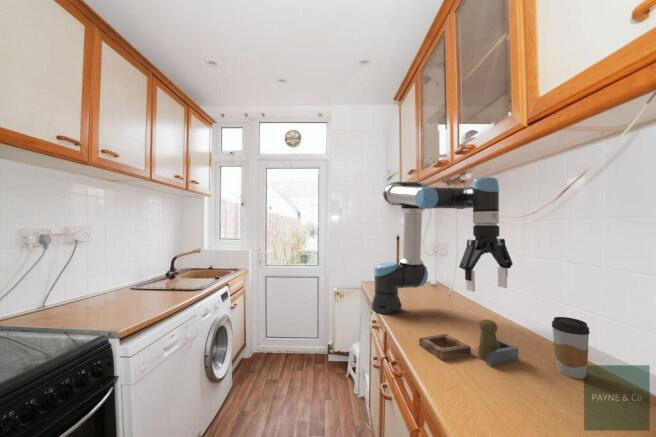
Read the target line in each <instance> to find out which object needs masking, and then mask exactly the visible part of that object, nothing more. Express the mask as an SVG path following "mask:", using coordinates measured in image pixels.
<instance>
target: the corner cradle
mask: <svg viewBox="0 0 656 437" xmlns="http://www.w3.org/2000/svg"><path fill="white" fill-rule="evenodd" d="M496 339H497V345H498V349H496V350H491V351H486V357H483V356H481V355H480V354H479V353H478V350H479V347H477V348H473V349H471V356H474V357H476V358H477V359H479V360H481V361H482V362H485V364H486V365H487V366H488V367H490V368H492V367H496V366H501V365H505V364H510V363H514V362H515V363H516V362H519V361H520V358H519V347H516V346H515V345H512V344H510V343H508V342H506V341H503V340H501V339H499V338H497V337H496Z"/></svg>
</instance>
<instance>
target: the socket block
mask: <svg viewBox="0 0 656 437" xmlns="http://www.w3.org/2000/svg"><path fill="white" fill-rule="evenodd" d="M418 342H419V347H422V349H424V350H426V352H429V353H430V354H431V355H433V356H435V357H436V358H437V359H439V360H441V361H446V360H452V359H456V358H457V359H458V358H461V357H466V356H472V354H471V348H472V347H471V346H470V345H468V344H466V343H464V342H462V341H460V340H458V339H457V338H454V337H453V336H451V335H449V334H447V333H442V334H436V335H430V336H423V337H419V339H418ZM441 345H447V346H448V347H444V348H442V347H440V346H441Z"/></svg>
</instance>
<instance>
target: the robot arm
mask: <svg viewBox="0 0 656 437" xmlns="http://www.w3.org/2000/svg"><path fill="white" fill-rule="evenodd" d="M499 192H500V189H499V180H498V179H497V178H495V177H479V178H475V179H473V180H472V185H471V186H469V187H438V186H437V187H435V186H434V187H433V186H428V185H427V184H426V183H425V182H421V181H393V182H390V183H388V185H387V184H386V186H385V187H384V189H383V192H382V194H383V195H382V196H383V199H384V200H385V202H387V204H391V205H393V206H400V207H401V208H400V209H401V210H402V211H403V212H404V214H403V215H404V216H403V217H404V218H403V242H402V243H403V244H402V245H403V248H402V258H401V259H400V260H399V264H398V263H397V262H394V261H387V262H380V263H378V264H376V265H375V266H374V273H373V277H374V295H373V298H372V302H371V308H370V309H371V311H373V312H374V313H378V314H383V315H394V314H400V313H402V311H403V306H402V302H401V300H400V297H399V289H408V288H414V289H415V288H421V287H423V286H424V285H426V283H427V281H428V279H429V272H428V268H427V266H426V265H425V264H424V261H423V260H422V258H421V253H422V252H421V251H422V250H421V246H422V221H423V219H422V218H423V212H424V211H425V210H426V209H427V210H429V209H454V210H455V209H456V210H464V209H471V208H472V223H473V224H474V225H473V227H472V229H473V230H472V231H473V232H472V234H473V236H474V237H475V238H474V239H467V242H466V248H465V250H464V253H463V256H462V258H461V260H460V263H459V265H458V266H459V268H460V269H462V270H464V280H465V281H466V283H465V284H466V286H465V287H466V289H465V290H467V291H470V292H476V271H475V270H474V268H475V266H476V265H477V263H478V262H479V260H480V258H481V257H482V255H484V254H488V253H489V254H491V255H492V257H493V258H494V260H495V261H496V263H497V265H498V266H499V267H497V287H500V288H504V289H507V288H508V269H511V266H513V261H512V258H511V255H510V253H509V251H508V248H507V246H506V240H505V238H498V237H500V226H499V225H498V224H499V223H500V215H499V214H500V212H499V211H500V207H499V206H500V204H499V203H500V201H499V200H500V196H499V195H500V193H499Z"/></svg>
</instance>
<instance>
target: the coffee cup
mask: <svg viewBox="0 0 656 437" xmlns="http://www.w3.org/2000/svg"><path fill="white" fill-rule="evenodd" d="M551 327H552V333H553V348H554V357H555V361H556V369H557V370H558V372H559V373H560V374H562V375H563V376H565V377H568V378H571V379H577V380H583V378H584V379H585V377H587V370H588V369H587V368H588V360H589V359H588V358H589V338H590V337H589V336H590V327H589V326H588V324H587V322H586V321H583V320H581V319H577V318H572V317H568V316H566V317H565V316H554V317H553V320H552V322H551Z"/></svg>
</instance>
